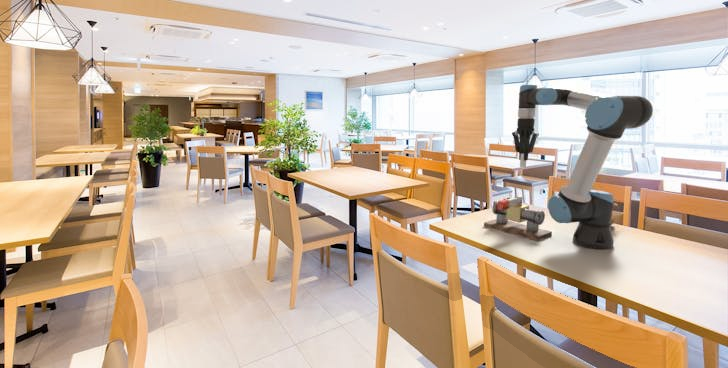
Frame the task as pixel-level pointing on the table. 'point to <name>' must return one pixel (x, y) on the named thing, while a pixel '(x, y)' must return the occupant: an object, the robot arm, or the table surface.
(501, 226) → the walnut base board
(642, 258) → the table surface
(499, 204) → the valve lever
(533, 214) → the pipe and valve body
